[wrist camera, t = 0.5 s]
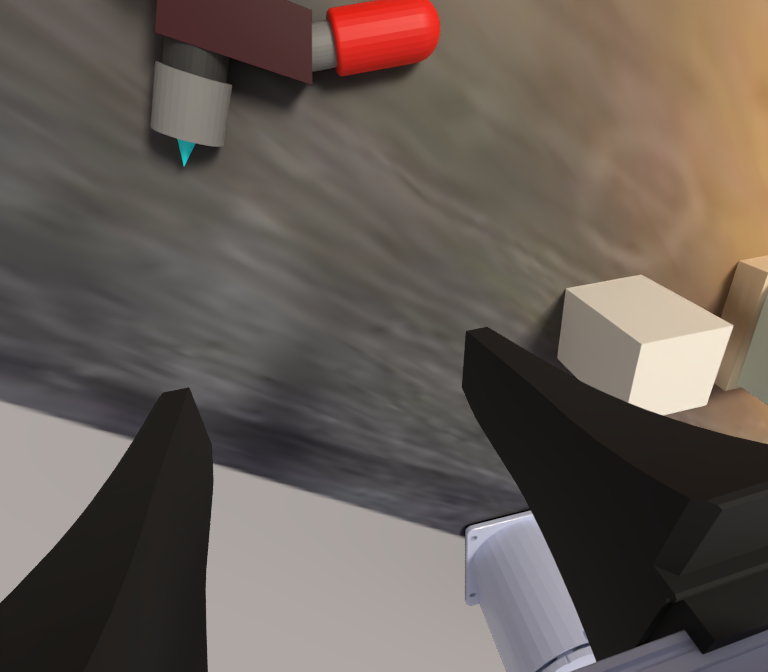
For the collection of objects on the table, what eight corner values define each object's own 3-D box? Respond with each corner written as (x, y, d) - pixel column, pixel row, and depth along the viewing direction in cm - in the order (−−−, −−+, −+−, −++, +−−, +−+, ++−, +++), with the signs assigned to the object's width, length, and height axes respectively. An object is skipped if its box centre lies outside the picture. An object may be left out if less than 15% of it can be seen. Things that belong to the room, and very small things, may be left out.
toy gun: (141, 149, 18) (104, 172, 14) (172, -297, 13) (127, -471, 9) (378, 210, 21) (405, 244, 17) (477, -130, 16) (549, -200, 12)
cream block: (626, 343, 28) (706, 405, 23) (557, 358, 27) (623, 424, 22) (640, 274, 26) (733, 325, 20) (565, 288, 25) (641, 344, 20)
